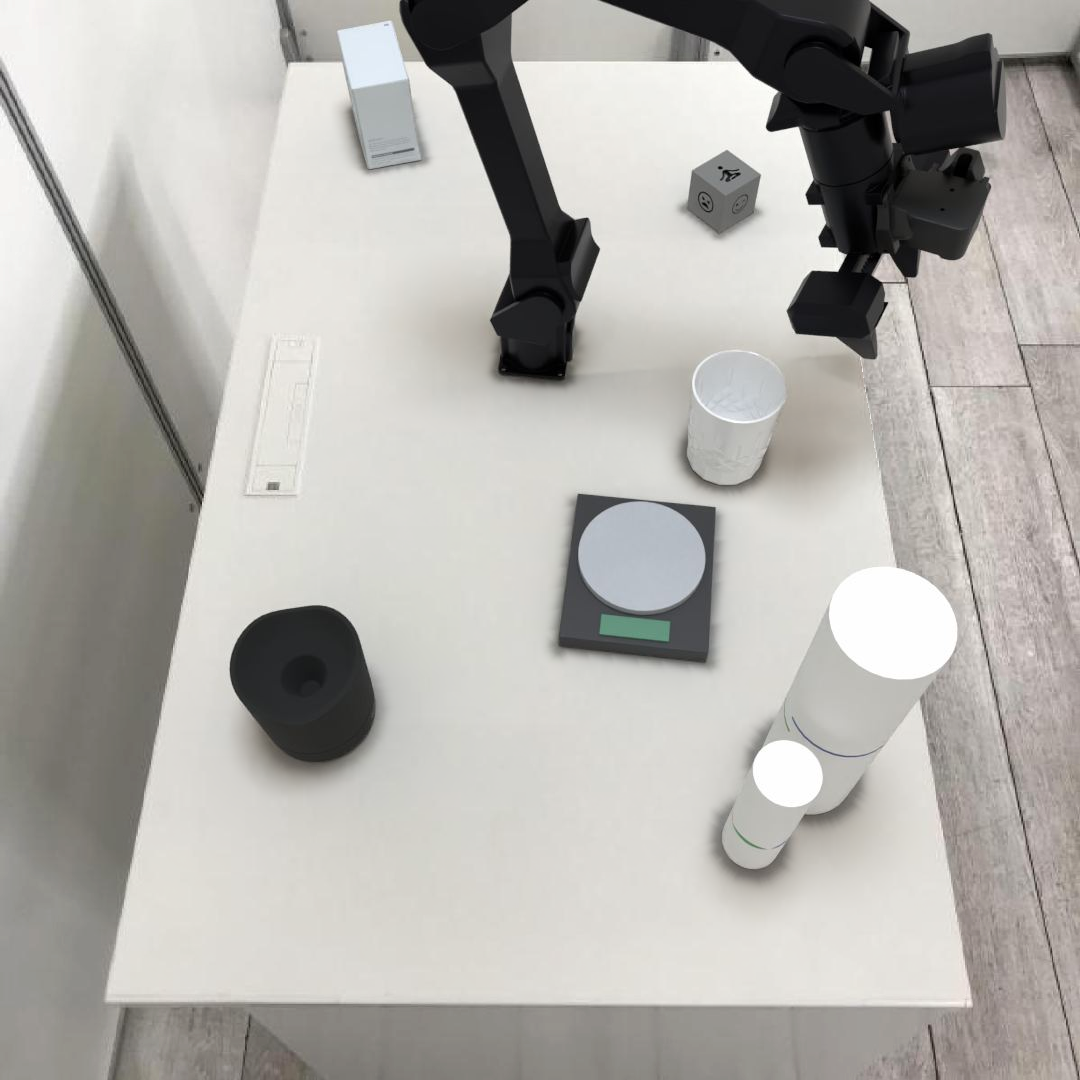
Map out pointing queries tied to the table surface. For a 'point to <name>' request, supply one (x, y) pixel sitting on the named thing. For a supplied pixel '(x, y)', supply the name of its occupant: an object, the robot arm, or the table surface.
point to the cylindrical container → (864, 673)
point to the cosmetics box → (379, 94)
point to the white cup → (733, 414)
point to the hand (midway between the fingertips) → (891, 316)
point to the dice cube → (723, 191)
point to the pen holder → (305, 681)
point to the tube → (771, 803)
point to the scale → (639, 578)
